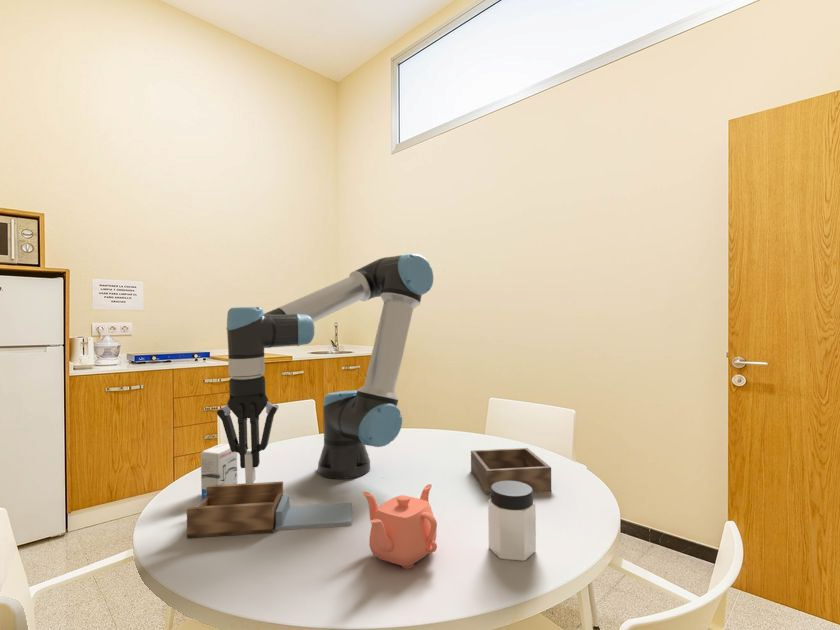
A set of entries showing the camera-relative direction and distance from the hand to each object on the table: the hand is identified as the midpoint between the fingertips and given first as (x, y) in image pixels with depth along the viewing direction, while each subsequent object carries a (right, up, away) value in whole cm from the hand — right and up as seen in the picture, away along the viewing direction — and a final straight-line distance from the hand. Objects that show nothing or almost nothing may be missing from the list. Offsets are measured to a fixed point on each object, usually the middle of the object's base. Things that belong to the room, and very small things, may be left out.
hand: (250, 481), depth 101 cm
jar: (+56, -9, -13) cm, 58 cm away
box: (-2, -9, -1) cm, 9 cm away
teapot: (+34, -9, -14) cm, 38 cm away
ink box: (-14, -9, +15) cm, 22 cm away
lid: (+14, -9, +1) cm, 17 cm away
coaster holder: (+62, -8, +23) cm, 67 cm away
